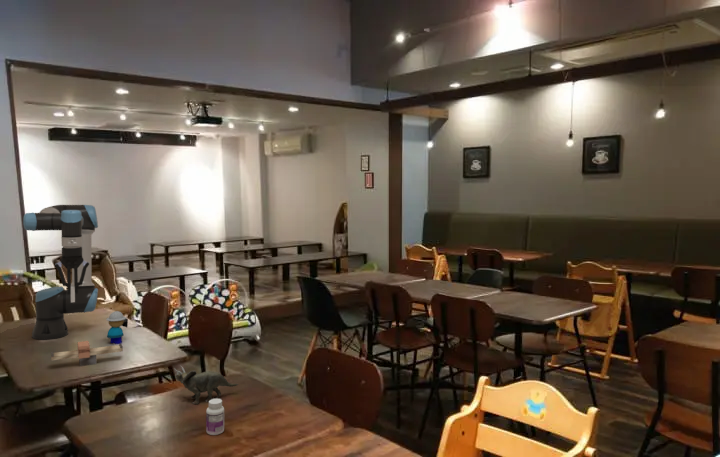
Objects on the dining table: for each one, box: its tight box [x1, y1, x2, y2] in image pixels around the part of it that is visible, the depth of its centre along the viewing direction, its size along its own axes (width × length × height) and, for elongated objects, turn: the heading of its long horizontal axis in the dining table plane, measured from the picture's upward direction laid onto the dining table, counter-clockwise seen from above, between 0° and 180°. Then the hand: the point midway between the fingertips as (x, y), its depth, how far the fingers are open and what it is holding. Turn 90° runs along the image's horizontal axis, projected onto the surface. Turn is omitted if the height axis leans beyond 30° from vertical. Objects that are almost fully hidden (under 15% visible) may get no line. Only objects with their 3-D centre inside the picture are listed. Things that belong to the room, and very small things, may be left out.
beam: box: [50, 343, 124, 367], centre depth 213 cm, size 26×5×6 cm, turn 122°
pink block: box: [77, 340, 91, 360], centre depth 212 cm, size 4×7×5 cm, turn 31°
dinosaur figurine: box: [174, 365, 239, 405], centre depth 180 cm, size 22×8×11 cm, turn 100°
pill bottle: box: [205, 398, 225, 436], centre depth 157 cm, size 5×5×10 cm
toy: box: [105, 310, 129, 345], centre depth 243 cm, size 8×9×15 cm
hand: (72, 301), depth 218 cm, fingers closed
